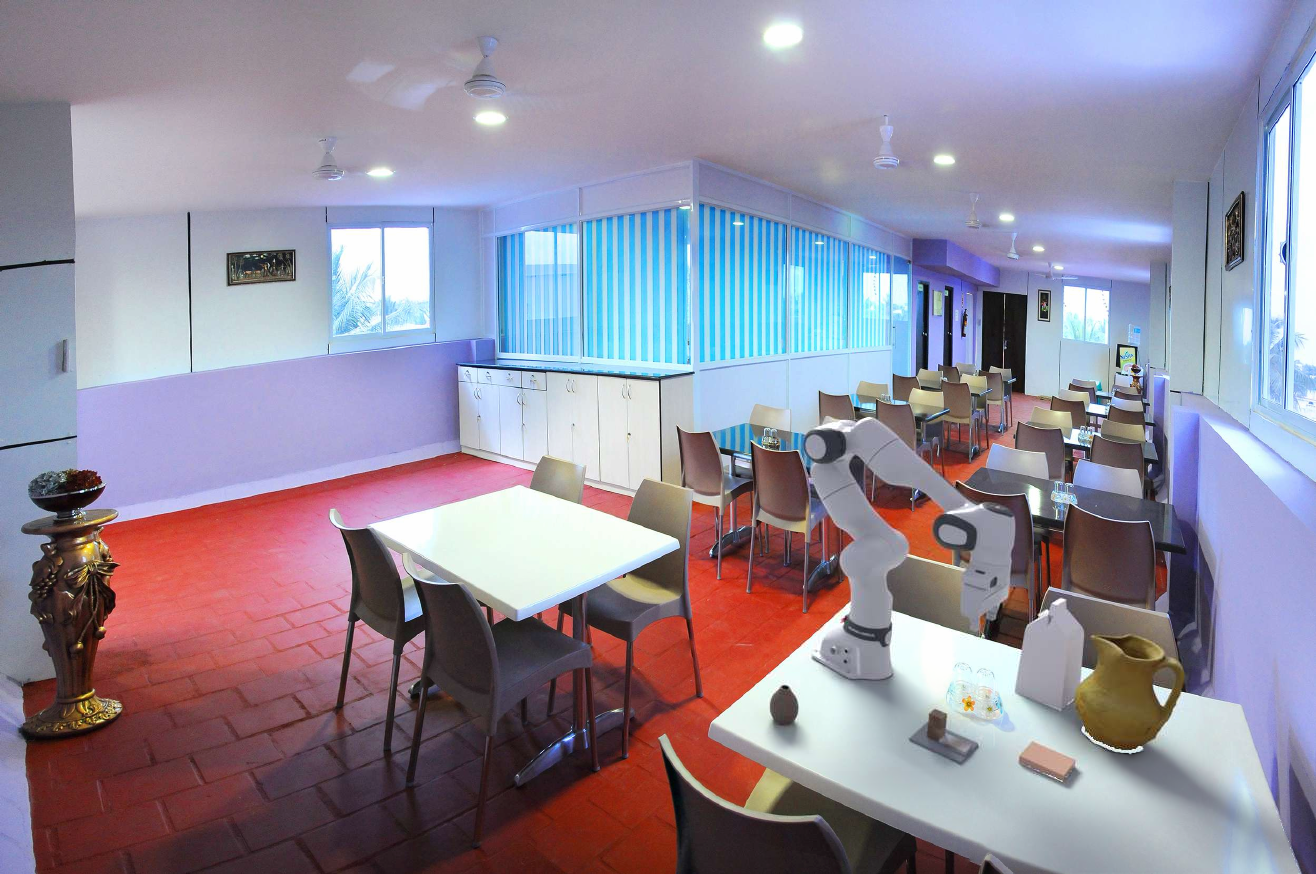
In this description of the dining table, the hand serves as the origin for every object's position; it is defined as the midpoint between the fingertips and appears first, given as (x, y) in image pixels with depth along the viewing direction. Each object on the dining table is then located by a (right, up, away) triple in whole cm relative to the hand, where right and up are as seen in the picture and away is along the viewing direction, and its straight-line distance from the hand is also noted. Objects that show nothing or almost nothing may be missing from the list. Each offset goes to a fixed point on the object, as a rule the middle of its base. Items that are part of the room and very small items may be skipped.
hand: (982, 624), depth 167 cm
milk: (+24, -23, +16) cm, 37 cm away
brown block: (-12, -25, -8) cm, 29 cm away
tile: (+5, -26, -11) cm, 29 cm away
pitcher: (+29, -26, -5) cm, 40 cm away
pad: (-12, -26, -7) cm, 29 cm away
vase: (-48, -24, +1) cm, 54 cm away
